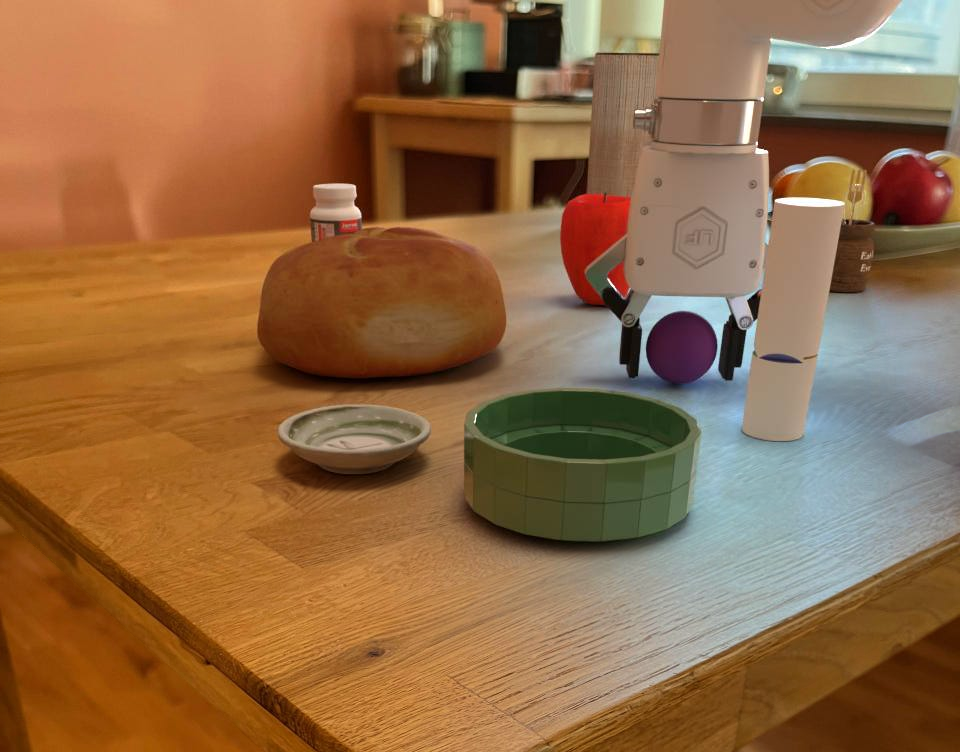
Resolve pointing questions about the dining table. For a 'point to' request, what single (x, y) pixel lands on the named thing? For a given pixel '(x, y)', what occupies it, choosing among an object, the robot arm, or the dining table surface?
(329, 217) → the pill bottle
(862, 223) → the utensil holder
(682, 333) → the ball
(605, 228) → the apple
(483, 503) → the bowl
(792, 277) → the tube
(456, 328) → the bread
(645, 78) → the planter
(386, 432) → the saucer
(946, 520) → the dining table surface
